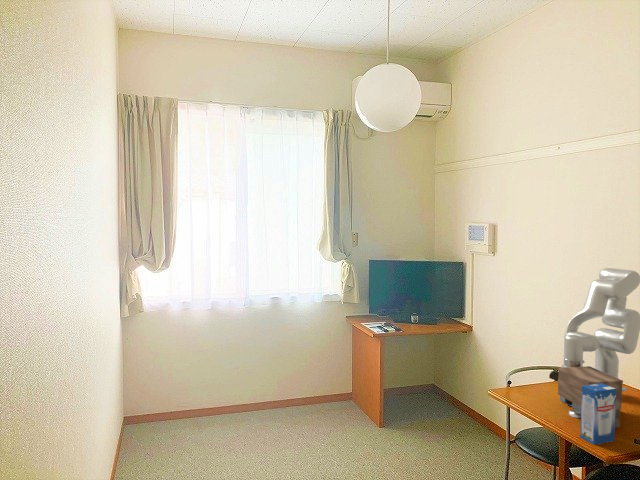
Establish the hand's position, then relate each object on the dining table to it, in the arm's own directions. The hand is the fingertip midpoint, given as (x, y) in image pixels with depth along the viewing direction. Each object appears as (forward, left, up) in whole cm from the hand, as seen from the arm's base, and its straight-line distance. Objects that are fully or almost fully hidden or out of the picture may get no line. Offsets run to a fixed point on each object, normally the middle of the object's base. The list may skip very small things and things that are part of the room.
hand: (571, 403), depth 214 cm
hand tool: (-19, -27, -1) cm, 33 cm away
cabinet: (+3, +14, -1) cm, 15 cm away
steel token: (+5, +10, -1) cm, 12 cm away
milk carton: (+13, +31, -1) cm, 34 cm away
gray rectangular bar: (0, +4, -1) cm, 4 cm away
